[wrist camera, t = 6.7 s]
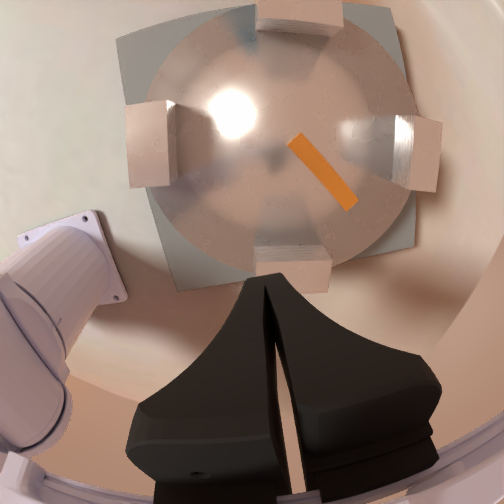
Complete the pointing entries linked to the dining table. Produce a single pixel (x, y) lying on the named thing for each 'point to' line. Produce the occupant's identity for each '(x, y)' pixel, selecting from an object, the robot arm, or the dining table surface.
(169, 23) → the base plate
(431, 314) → the dining table surface
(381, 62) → the lugged metal disc
